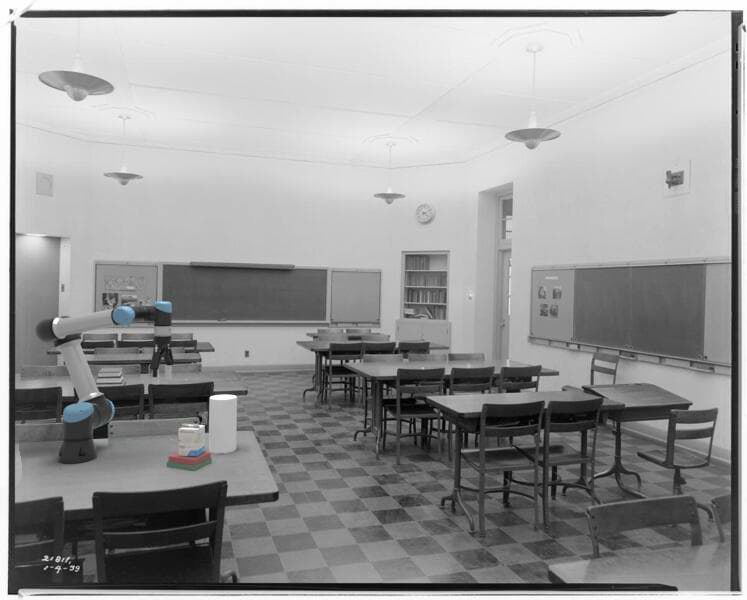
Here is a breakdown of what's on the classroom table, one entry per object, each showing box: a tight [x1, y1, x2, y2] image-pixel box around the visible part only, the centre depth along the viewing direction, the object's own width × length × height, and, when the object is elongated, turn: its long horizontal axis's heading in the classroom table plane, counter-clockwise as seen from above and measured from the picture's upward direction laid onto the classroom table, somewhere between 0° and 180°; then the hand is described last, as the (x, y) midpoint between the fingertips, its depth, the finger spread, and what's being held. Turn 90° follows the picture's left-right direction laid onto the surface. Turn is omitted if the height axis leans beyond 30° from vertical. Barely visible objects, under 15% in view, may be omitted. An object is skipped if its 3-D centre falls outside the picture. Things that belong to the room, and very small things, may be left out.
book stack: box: [166, 451, 213, 472], centre depth 238 cm, size 14×12×5 cm
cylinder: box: [208, 393, 238, 454], centre depth 260 cm, size 12×12×25 cm
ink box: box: [177, 423, 206, 457], centre depth 239 cm, size 9×8×13 cm
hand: (162, 381), depth 253 cm, fingers open, 13 cm apart
